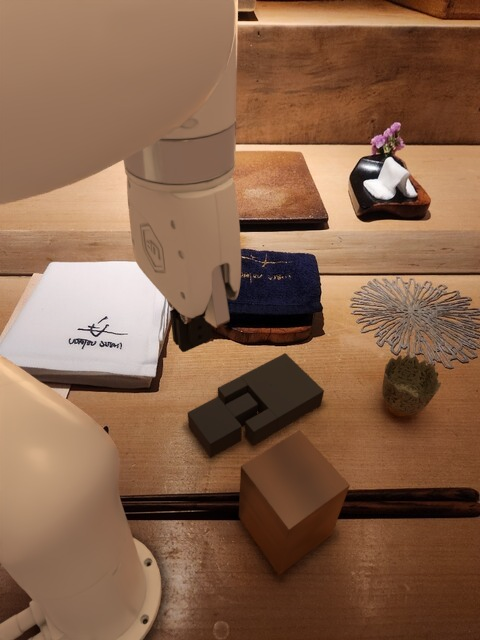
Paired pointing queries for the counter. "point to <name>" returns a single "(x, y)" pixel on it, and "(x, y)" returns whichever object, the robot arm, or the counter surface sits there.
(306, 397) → the base pad
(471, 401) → the counter surface
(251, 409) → the small pad
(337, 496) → the block
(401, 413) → the cup
